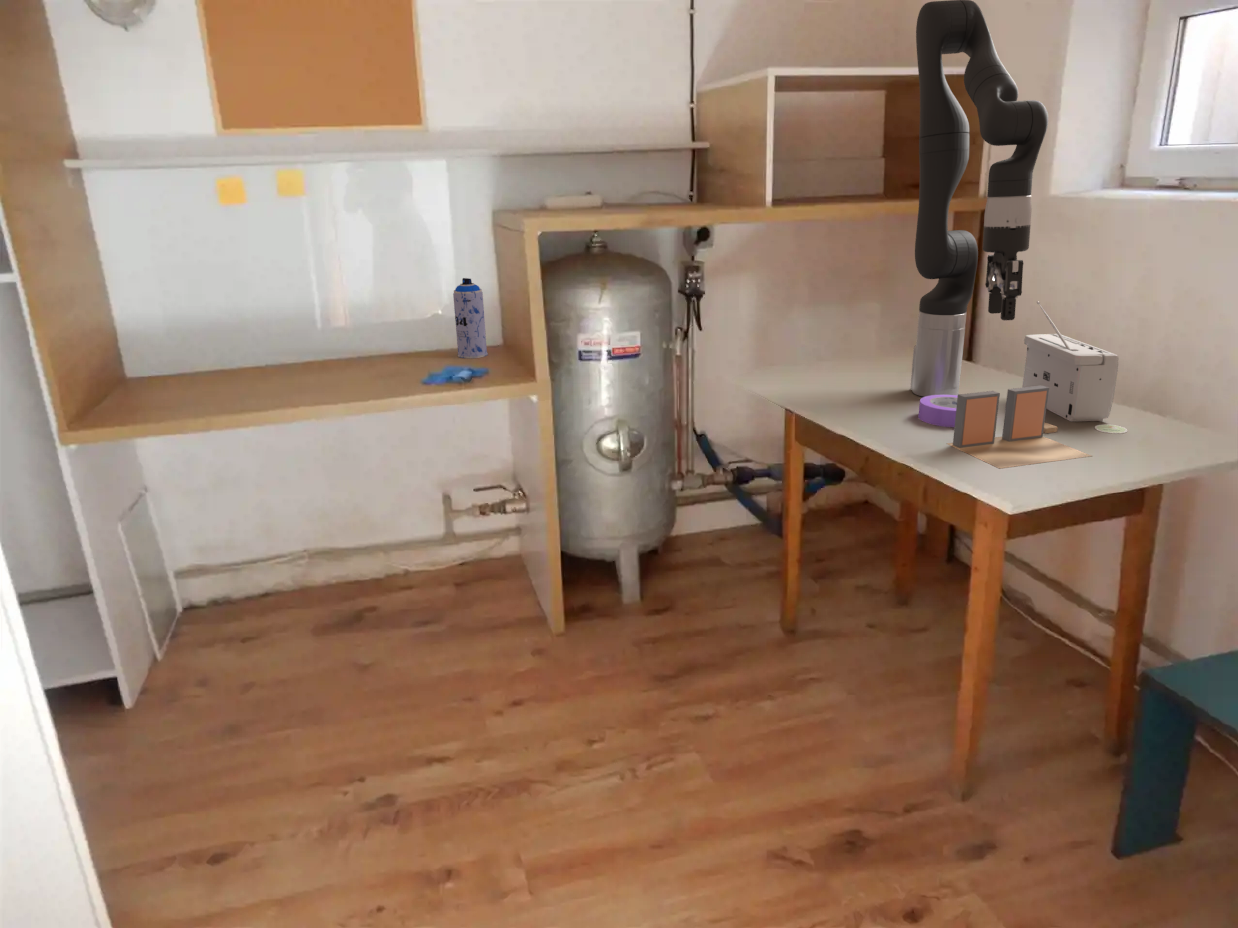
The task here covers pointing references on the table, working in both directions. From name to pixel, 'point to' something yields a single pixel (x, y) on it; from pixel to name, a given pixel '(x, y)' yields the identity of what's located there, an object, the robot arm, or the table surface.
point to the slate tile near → (976, 419)
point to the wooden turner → (1049, 428)
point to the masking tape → (938, 410)
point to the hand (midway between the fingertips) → (1000, 316)
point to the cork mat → (1022, 452)
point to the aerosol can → (470, 320)
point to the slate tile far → (1025, 413)
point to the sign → (1111, 429)
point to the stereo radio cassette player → (1071, 375)
